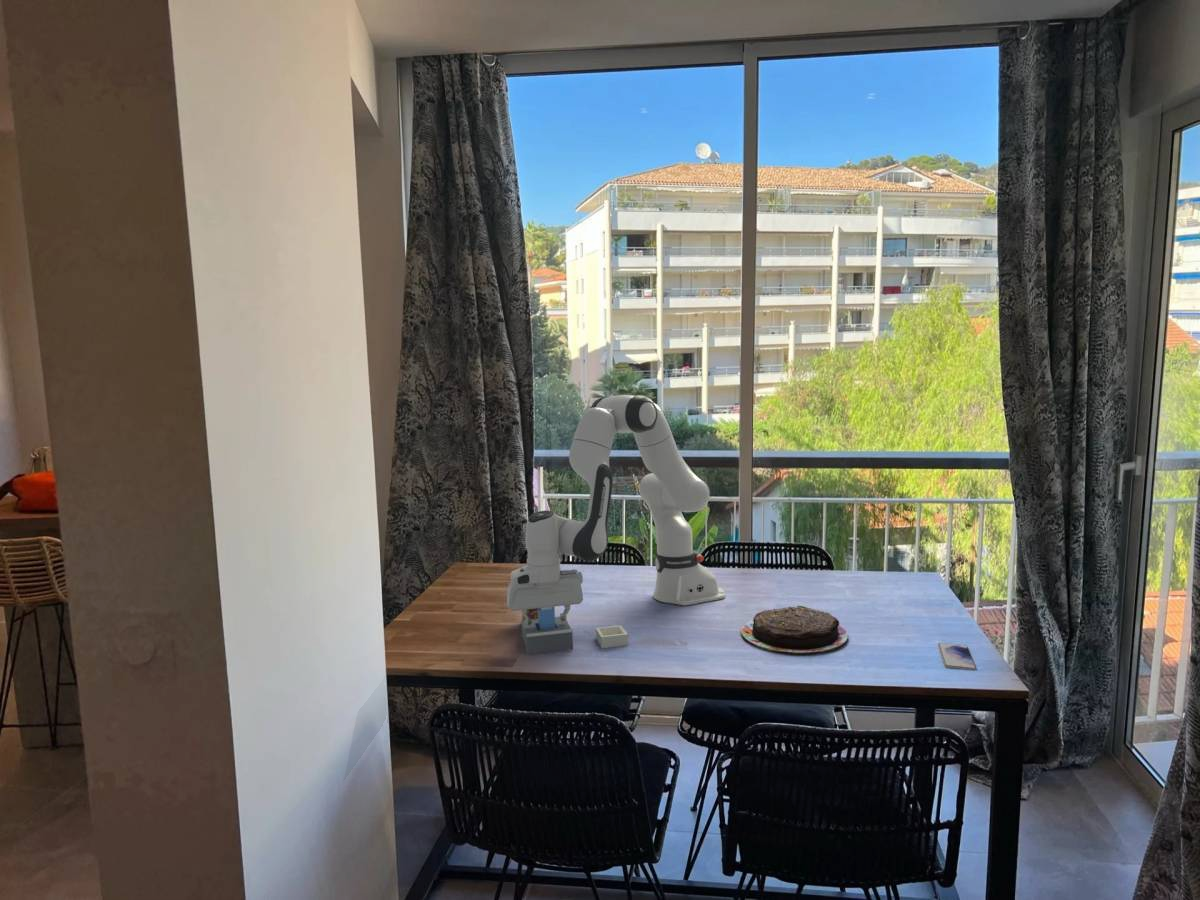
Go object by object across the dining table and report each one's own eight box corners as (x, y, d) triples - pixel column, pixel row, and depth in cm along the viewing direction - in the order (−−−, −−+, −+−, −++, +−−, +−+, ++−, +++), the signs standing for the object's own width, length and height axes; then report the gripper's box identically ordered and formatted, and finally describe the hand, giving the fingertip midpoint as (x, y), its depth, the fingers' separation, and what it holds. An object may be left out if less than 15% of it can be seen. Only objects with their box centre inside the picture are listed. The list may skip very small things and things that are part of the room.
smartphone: (967, 645, 197) (977, 668, 183) (967, 648, 198) (976, 672, 183) (937, 642, 200) (944, 665, 185) (937, 645, 200) (944, 668, 186)
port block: (565, 633, 216) (564, 614, 216) (573, 649, 205) (572, 629, 204) (522, 638, 214) (521, 619, 213) (527, 654, 202) (526, 634, 201)
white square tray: (621, 635, 213) (621, 625, 213) (628, 645, 206) (627, 634, 206) (596, 638, 212) (595, 627, 211) (601, 648, 205) (601, 637, 204)
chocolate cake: (719, 635, 212) (719, 611, 212) (787, 612, 229) (787, 590, 228) (801, 666, 190) (801, 640, 189) (870, 638, 206) (870, 614, 205)
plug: (553, 636, 212) (552, 601, 210) (555, 641, 208) (554, 605, 206) (538, 638, 211) (537, 602, 210) (541, 643, 207) (539, 607, 206)
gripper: (580, 565, 212) (582, 614, 214) (504, 572, 208) (507, 622, 210) (584, 571, 206) (586, 622, 208) (507, 579, 202) (509, 630, 204)
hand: (546, 622), depth 209 cm, fingers open, 8 cm apart
